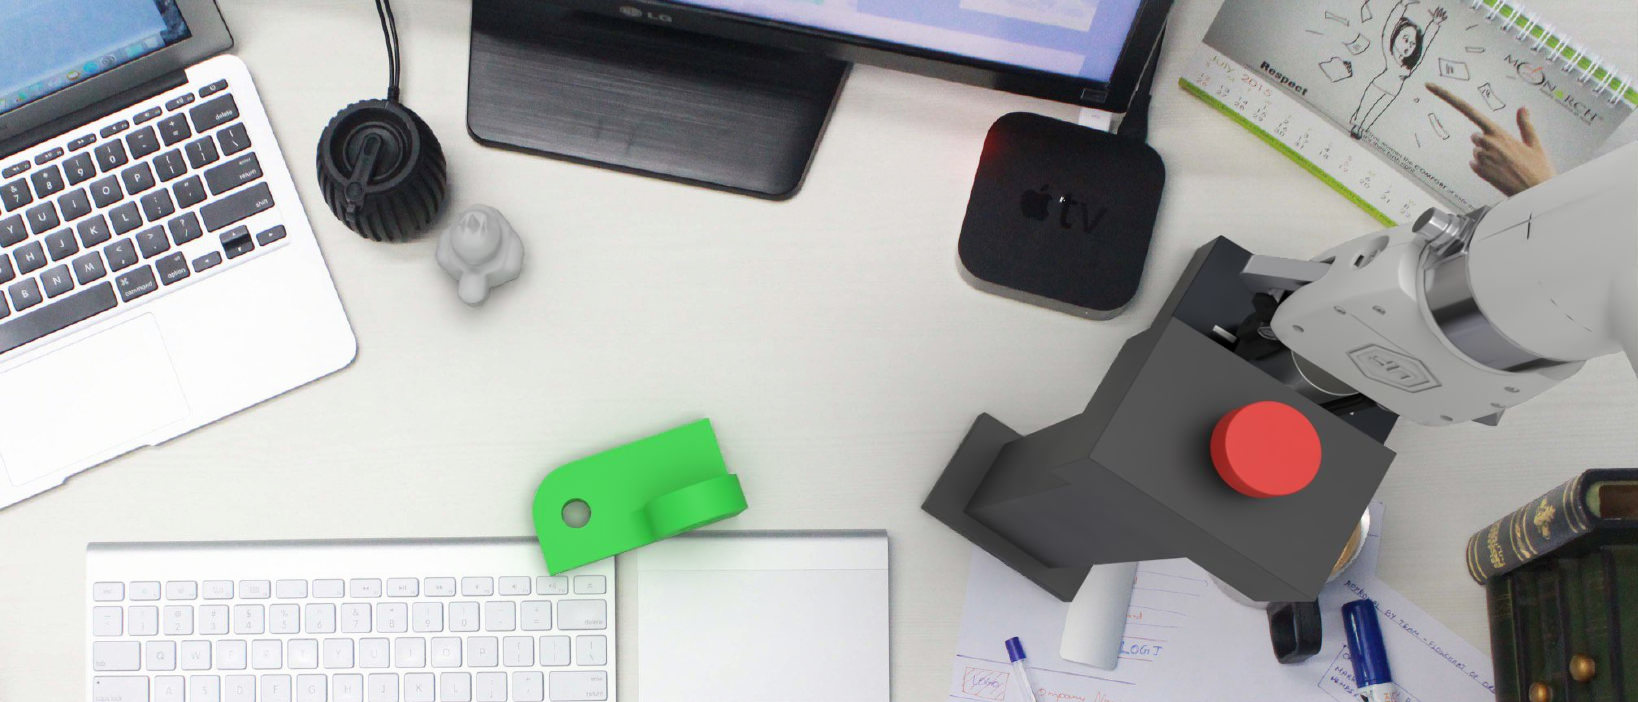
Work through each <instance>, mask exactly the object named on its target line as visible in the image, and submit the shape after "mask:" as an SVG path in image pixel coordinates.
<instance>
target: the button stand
mask: <svg viewBox="0 0 1638 702" xmlns="http://www.w3.org/2000/svg"><path fill="white" fill-rule="evenodd" d="M1150 327H1151V326H1150ZM1150 327H1149V328H1147V329H1145V330H1143V331H1141V332H1138V333H1137V334H1135V335H1133V336H1131V337H1129V338H1127V339H1126V340H1125V342H1124V343H1123V345H1122V347H1121V348H1120V350H1119V352H1118V353H1117V355H1116V357H1115V358H1114V360H1113V362H1112V363H1111V365H1110V366H1109V368H1108V370H1107V371H1106V373H1105V375H1104V376H1103V378H1102V380H1101V381H1100V383H1099V384H1098V387H1097V388H1096V390H1095V391H1094V393H1093V395H1092V396H1091V397H1090V400H1089V401H1088V403H1087V405H1086V406H1085V407H1084V409H1083V411H1082V412H1081V413H1078V414H1075V415H1073V416H1071V417H1068V418H1066V419H1063V420H1061V421H1058V422H1055V423H1054V424H1051V425H1047V426H1045V427H1043V428H1041V429H1039V430H1036V431H1033V432H1031V433H1028V434H1026V435H1022V434H1020V433H1019V432H1017V431H1016V430H1015V429H1013V428H1011V427H1010V426H1008V425H1006V424H1005V423H1003V422H1002V421H1000V420H998V418H995V417H993V416H992V415H991V414H989V413H988V412H986V411H984V412H981V413H980V414H978V416H976V419H975V420H974V421H973V423H972V425H971V426H970V428H969V430H968V431H967V432H966V435H965V437H964V438H963V440H962V441H961V443H960V444H959V446H958V447H957V449H956V451H955V452H954V454H953V456H952V457H951V459H950V460H949V462H948V464H947V465H946V467H945V469H944V470H943V471H942V474H940V475H939V476H940V477H939V478H938V479H937V481H936V482H935V485H934V486H933V487H932V489H931V490H930V492H929V494H928V495H927V497H926V499H925V501H924V502H923V504H922V505H921V506H920V509H921V510H923V511H924V512H925V513H927V514H929V515H930V516H932V517H933V518H935V520H938V521H939V522H941V523H942V524H944V525H945V526H947V527H949V529H952V530H953V531H955V532H956V533H958V535H961V536H962V537H964V538H965V539H967V540H968V541H970V542H971V543H973V544H974V545H976V546H978V547H979V548H980V549H982V550H983V551H985V552H986V553H988V554H990V555H991V556H992V557H994V558H996V559H998V561H1000V562H1002V563H1003V564H1005V565H1007V566H1008V567H1009V568H1011V569H1013V570H1014V571H1016V572H1017V573H1018V574H1020V575H1021V576H1023V577H1025V579H1028V580H1030V581H1031V582H1032V583H1034V584H1036V585H1037V586H1038V587H1040V588H1042V589H1043V590H1044V591H1046V592H1048V594H1051V595H1052V596H1054V597H1055V598H1057V599H1058V600H1060V601H1061V602H1063V603H1073V601H1074V599H1075V597H1076V596H1077V594H1078V592H1079V590H1080V589H1081V587H1082V586H1083V584H1084V582H1085V581H1086V578H1087V577H1088V575H1089V573H1090V572H1091V570H1092V569H1093V567H1094V566H1098V565H1111V564H1123V563H1124V564H1125V563H1134V562H1135V563H1137V562H1149V561H1161V560H1162V561H1163V560H1174V559H1188V560H1189V561H1191V562H1192V563H1194V564H1195V565H1197V566H1199V567H1200V568H1202V569H1204V571H1206V572H1208V573H1209V574H1211V575H1213V576H1214V577H1216V578H1217V579H1219V580H1221V581H1222V582H1223V583H1225V584H1226V585H1228V586H1230V587H1231V588H1233V589H1235V590H1236V591H1238V592H1239V593H1241V595H1244V596H1245V597H1247V598H1248V599H1250V600H1251V601H1253V602H1256V603H1260V602H1261V603H1262V602H1263V603H1264V602H1265V603H1271V602H1272V603H1273V602H1274V603H1275V602H1276V603H1277V602H1278V603H1280V602H1284V603H1285V602H1287V603H1288V602H1289V603H1290V602H1293V603H1294V602H1302V603H1303V602H1307V603H1309V602H1310V603H1311V602H1312V603H1313V602H1316V601H1317V599H1318V597H1319V595H1320V594H1321V592H1322V591H1323V588H1324V587H1325V584H1326V582H1327V581H1328V579H1329V577H1330V575H1331V573H1332V572H1333V570H1334V568H1335V566H1336V565H1337V563H1338V561H1339V559H1340V558H1341V556H1342V554H1343V552H1344V550H1345V548H1346V546H1347V545H1348V543H1349V541H1350V540H1351V537H1352V536H1353V534H1354V532H1355V530H1356V529H1357V527H1358V525H1359V523H1360V522H1361V519H1362V517H1363V516H1364V514H1365V513H1366V510H1367V509H1368V507H1369V505H1370V503H1371V501H1372V499H1373V498H1374V496H1375V494H1376V493H1377V490H1378V488H1379V487H1380V485H1381V483H1382V481H1383V480H1384V478H1385V476H1386V474H1387V472H1388V471H1389V469H1390V467H1391V465H1392V463H1393V462H1394V460H1395V458H1396V457H1397V455H1398V454H1397V451H1394V450H1393V449H1391V448H1389V447H1388V446H1386V445H1385V444H1384V445H1383V444H1381V443H1380V442H1378V441H1376V440H1375V439H1373V438H1371V437H1370V436H1368V435H1367V434H1365V433H1363V432H1362V431H1360V430H1358V429H1357V428H1355V427H1353V426H1352V425H1350V424H1349V423H1347V422H1345V421H1344V420H1342V419H1340V418H1339V417H1337V416H1335V415H1334V414H1332V413H1331V412H1329V411H1327V410H1326V409H1324V408H1322V407H1321V406H1319V405H1318V404H1316V403H1314V402H1313V401H1311V400H1309V399H1308V398H1306V397H1304V396H1303V395H1301V394H1300V393H1298V392H1296V391H1295V390H1293V389H1291V388H1290V387H1288V386H1286V385H1285V384H1283V383H1282V382H1280V381H1278V380H1277V379H1275V378H1273V377H1272V376H1270V375H1268V374H1267V373H1265V372H1264V371H1262V370H1260V369H1259V368H1257V367H1255V366H1254V365H1252V364H1250V363H1249V362H1247V361H1246V360H1244V359H1242V358H1241V357H1239V356H1237V355H1236V354H1234V353H1233V352H1231V351H1229V350H1228V349H1226V348H1224V347H1223V346H1221V345H1219V344H1218V343H1216V342H1215V341H1213V340H1211V339H1210V338H1208V337H1206V336H1205V335H1203V334H1201V333H1200V332H1198V331H1197V330H1195V329H1193V328H1192V327H1190V326H1188V325H1187V324H1185V323H1183V322H1182V321H1180V320H1179V319H1177V318H1175V317H1173V316H1172V317H1170V318H1168V319H1166V320H1164V321H1162V322H1160V323H1158V324H1156V325H1154V326H1153V327H1151V328H1150ZM1261 401H1273V402H1279V403H1283V404H1286V405H1288V406H1290V407H1292V408H1294V409H1296V410H1297V411H1299V412H1300V413H1301V414H1303V415H1304V416H1305V417H1306V418H1307V419H1308V420H1309V422H1310V423H1311V424H1312V426H1313V427H1314V429H1315V431H1316V432H1317V435H1318V437H1319V440H1320V444H1321V463H1320V466H1319V469H1318V471H1317V474H1316V475H1315V477H1314V478H1313V480H1312V481H1311V482H1310V483H1309V484H1308V485H1307V486H1306V487H1304V488H1303V489H1301V490H1300V491H1297V492H1295V493H1292V494H1289V495H1283V496H1277V497H1270V498H1256V497H1251V496H1247V495H1245V494H1242V493H1240V492H1238V491H1237V490H1235V489H1234V488H1232V487H1231V486H1229V485H1228V484H1227V483H1226V482H1225V481H1224V480H1223V478H1222V477H1221V476H1220V475H1219V473H1218V472H1217V470H1216V468H1215V466H1214V463H1213V460H1212V456H1211V438H1212V434H1213V431H1214V429H1215V427H1216V425H1217V424H1218V422H1219V421H1220V420H1221V419H1222V418H1223V416H1225V415H1226V414H1227V413H1229V412H1230V411H1232V410H1234V409H1237V408H1239V407H1243V406H1246V405H1249V404H1252V403H1256V402H1261Z"/></svg>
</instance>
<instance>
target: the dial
mask: <svg viewBox="0 0 1638 702" xmlns="http://www.w3.org/2000/svg"><path fill="white" fill-rule="evenodd" d="M1247 362H1249V363H1250V364H1252V365H1254V366H1255V367H1257V368H1259V369H1260V370H1262V371H1264V372H1265V373H1267V374H1268V375H1270V376H1272V377H1273V378H1275V379H1277V380H1278V381H1280V382H1282V383H1283V384H1285V385H1286V386H1288V387H1290V388H1291V389H1293V390H1295V391H1296V392H1298V393H1300V394H1301V395H1303V396H1304V397H1306V398H1308V399H1309V400H1311V401H1313V402H1314V403H1316V404H1321V403H1325V402H1328V401H1332V400H1335V399H1339V398H1343V397H1346V396H1350V395H1353V394H1357V393H1359V391H1358V390H1356V389H1354V388H1353V387H1351V386H1349V385H1348V384H1346V383H1344V382H1343V381H1341V380H1339V379H1338V378H1336V377H1334V376H1333V375H1331V374H1330V373H1328V372H1326V371H1325V370H1323V369H1322V368H1320V367H1318V366H1317V365H1315V364H1313V363H1312V362H1310V361H1309V360H1307V359H1305V358H1304V357H1302V356H1301V355H1299V354H1298V353H1296V352H1294V351H1293V350H1291V349H1290V348H1289V347H1287V346H1286V345H1285V344H1283V343H1282V344H1281V345H1280V347H1279V348H1278V349H1277V350H1276V351H1273V352H1271V353H1268V354H1265V355H1263V356H1260V357H1257V358H1255V359H1252V360H1249V361H1247Z"/></svg>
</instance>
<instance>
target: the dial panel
mask: <svg viewBox="0 0 1638 702" xmlns="http://www.w3.org/2000/svg"><path fill="white" fill-rule="evenodd" d="M1250 255H1255V253H1253V252H1251V251H1249V250H1248V249H1246V248H1244V247H1243V246H1241V245H1239V244H1238V243H1236V242H1234V241H1233V240H1231V239H1229V238H1227V237H1226V236H1224V235H1222V234H1220V235H1218V236H1217V237H1215V238H1213V239H1212V240H1210V241H1208V242H1206V243H1204V244H1203V245H1202V246H1199V247H1198V248H1197V249H1196V251H1195V252H1194V254H1193V255H1192V257H1191V259H1190V261H1189V262H1188V264H1187V265H1186V267H1185V269H1184V270H1183V272H1182V273H1181V275H1180V277H1179V279H1178V280H1177V282H1176V283H1175V285H1174V287H1173V288H1172V290H1171V291H1170V293H1169V295H1168V297H1167V298H1166V299H1165V300H1166V301H1164V303H1163V305H1162V307H1161V309H1160V310H1159V312H1158V313H1157V315H1156V317H1155V318H1154V320H1153V321H1152V323H1151V325H1150V326H1149V328H1151V327H1153V326H1154V325H1156V324H1158V323H1160V322H1162V321H1164V320H1166V319H1168V318H1170V317H1172V316H1173V317H1175V318H1177V319H1179V320H1180V321H1182V322H1183V323H1185V324H1187V325H1188V326H1190V327H1192V328H1193V329H1195V330H1197V331H1198V332H1200V333H1201V334H1203V335H1205V336H1206V337H1208V338H1210V339H1211V340H1213V341H1215V342H1216V343H1218V344H1219V345H1221V346H1223V347H1224V348H1226V349H1228V350H1229V351H1231V352H1233V353H1234V351H1235V349H1236V348H1237V346H1238V344H1239V343H1240V341H1241V338H1239V337H1237V336H1236V333H1237V330H1238V329H1239V327H1240V325H1241V324H1242V322H1243V321H1244V320H1245V318H1246V317H1247V316H1249V315H1250V314H1252V313H1254V312H1256V310H1255V308H1254V306H1253V304H1252V299H1253V298H1254V295H1253V293H1251V292H1249V291H1248V289H1247V288H1246V286H1245V285H1244V283H1243V281H1242V280H1241V278H1240V277H1239V273H1240V272H1241V270H1242V268H1243V266H1244V265H1245V263H1246V261H1247V260H1248V258H1249V256H1250ZM1323 404H1324V403H1321V404H1318V405H1319V406H1321V407H1322V406H1323ZM1338 417H1339V418H1340V419H1342V420H1344V421H1345V422H1347V423H1349V424H1350V425H1352V426H1353V427H1355V428H1357V429H1358V430H1360V431H1362V432H1363V433H1365V434H1367V435H1368V436H1370V437H1371V438H1373V439H1375V440H1376V441H1378V442H1380V443H1381V444H1383V445H1385V443H1386V442H1387V439H1388V437H1389V436H1390V434H1391V432H1392V430H1394V427H1395V425H1396V423H1397V421H1398V419H1399V418H1400V417H1401V416H1400V415H1398V414H1397V413H1392V412H1388V411H1385V410H1383V409H1381V408H1379V407H1378V406H1376V407H1372V408H1369V409H1365V410H1361V411H1357V412H1354V413H1350V414H1346V415H1342V416H1338Z"/></svg>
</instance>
